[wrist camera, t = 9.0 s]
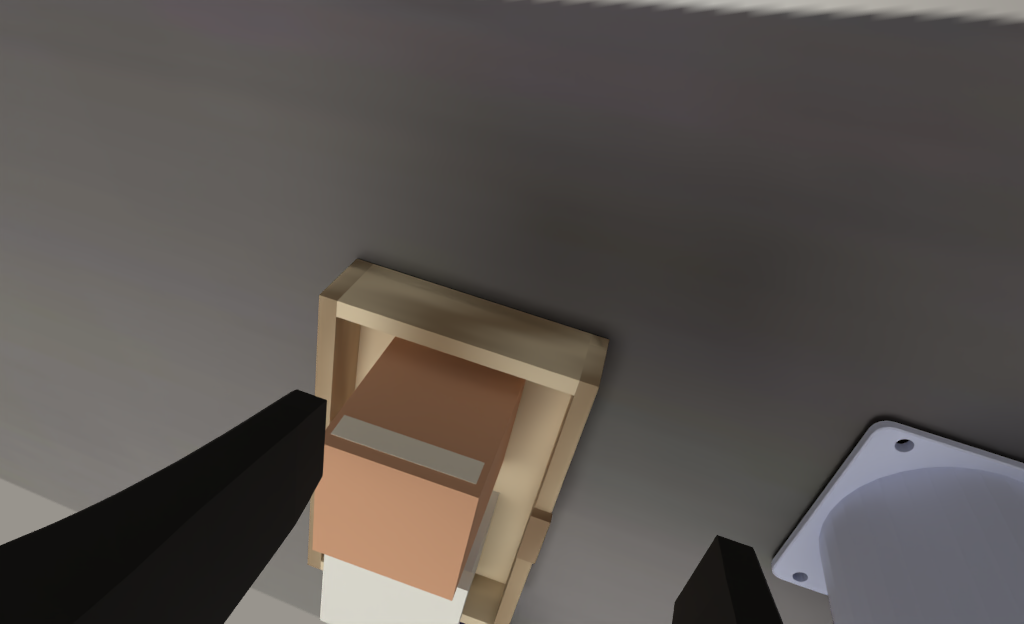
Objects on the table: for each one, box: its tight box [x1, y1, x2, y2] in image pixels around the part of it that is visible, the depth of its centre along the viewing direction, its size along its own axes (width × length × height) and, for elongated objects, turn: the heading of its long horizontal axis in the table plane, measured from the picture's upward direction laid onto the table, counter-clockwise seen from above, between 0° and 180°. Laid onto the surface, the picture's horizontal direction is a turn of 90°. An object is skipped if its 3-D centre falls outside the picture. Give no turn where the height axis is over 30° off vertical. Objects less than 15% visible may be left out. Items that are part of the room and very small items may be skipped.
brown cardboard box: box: [312, 336, 526, 601], centre depth 20 cm, size 5×5×6 cm
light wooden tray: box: [308, 259, 609, 624], centre depth 24 cm, size 9×14×3 cm, turn 168°
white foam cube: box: [320, 491, 499, 624], centre depth 25 cm, size 5×5×4 cm
